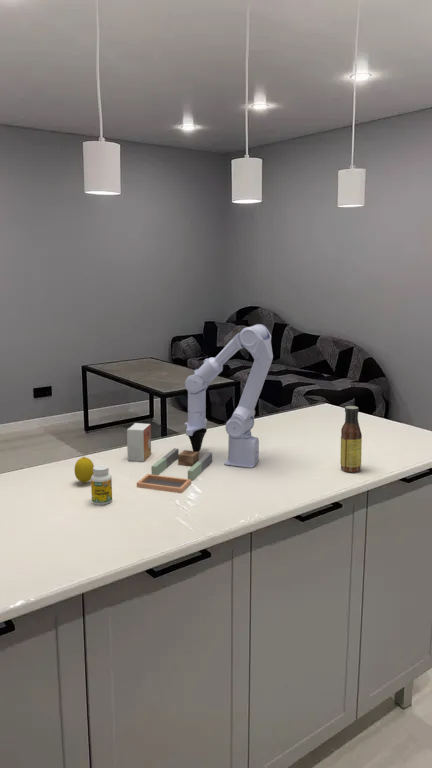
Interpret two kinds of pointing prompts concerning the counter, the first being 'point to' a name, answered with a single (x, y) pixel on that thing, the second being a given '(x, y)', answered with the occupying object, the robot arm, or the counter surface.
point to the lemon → (84, 469)
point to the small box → (139, 442)
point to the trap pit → (164, 483)
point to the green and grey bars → (173, 455)
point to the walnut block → (188, 458)
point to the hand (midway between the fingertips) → (196, 451)
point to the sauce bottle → (351, 441)
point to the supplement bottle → (101, 485)
